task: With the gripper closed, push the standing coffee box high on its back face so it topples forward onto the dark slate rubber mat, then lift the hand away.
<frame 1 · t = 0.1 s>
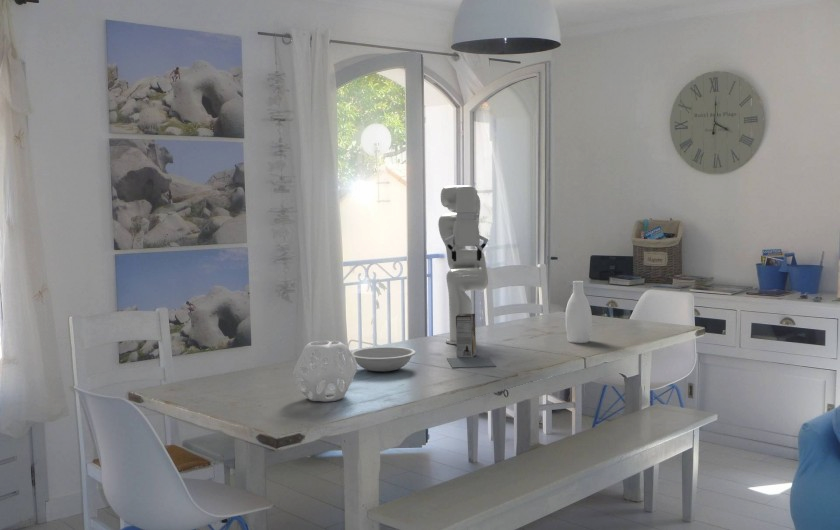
hand: (466, 260, 337), 36 cm above the table, tool pointing down, fingers open, 9 cm apart
slate mat: (470, 362, 318), on the table
decorative ball: (325, 399, 265), on the table
coffee box: (466, 356, 330), on the table, touching slate mat
soup bowl: (382, 371, 307), on the table
bottle: (578, 341, 360), on the table
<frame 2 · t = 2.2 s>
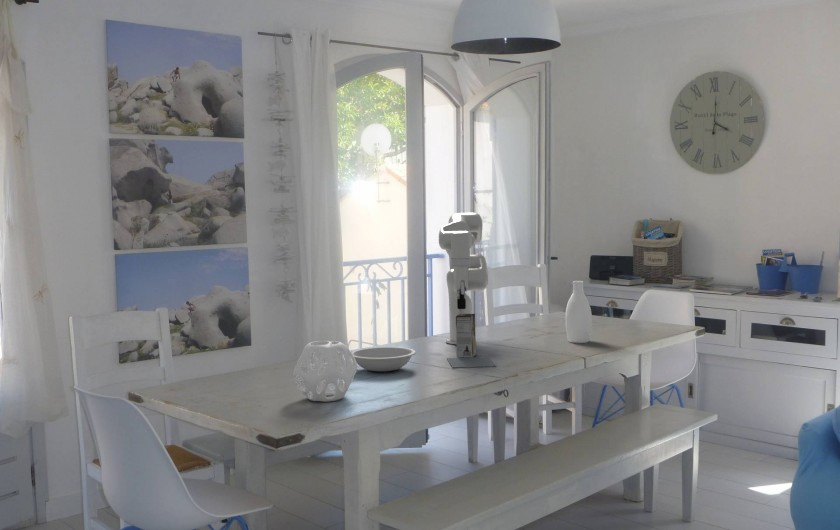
hand: (461, 308, 342), 17 cm above the table, tool pointing down, fingers closed
nothing on the table moved.
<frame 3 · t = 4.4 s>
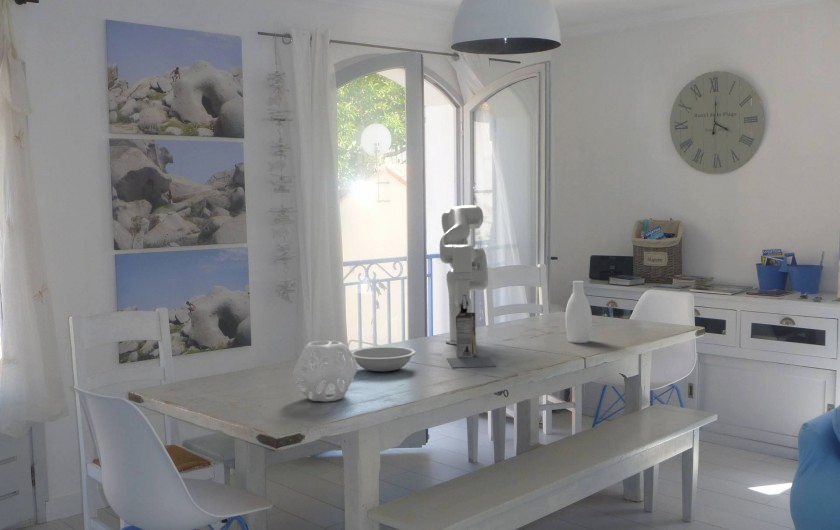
hand: (463, 323, 336), 12 cm above the table, tool pointing down, fingers closed
coffee box: (466, 355, 330), on the table, touching gripper, slate mat
everything else where it was.
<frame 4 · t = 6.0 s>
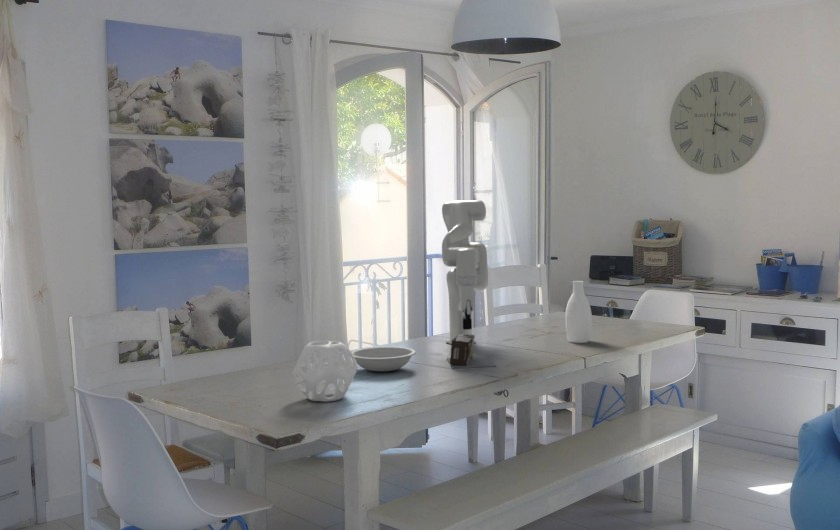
hand: (467, 329, 325), 11 cm above the table, tool pointing down, fingers closed
coffee box: (465, 345, 326), point 5 cm above the table, touching slate mat
everything else where it was.
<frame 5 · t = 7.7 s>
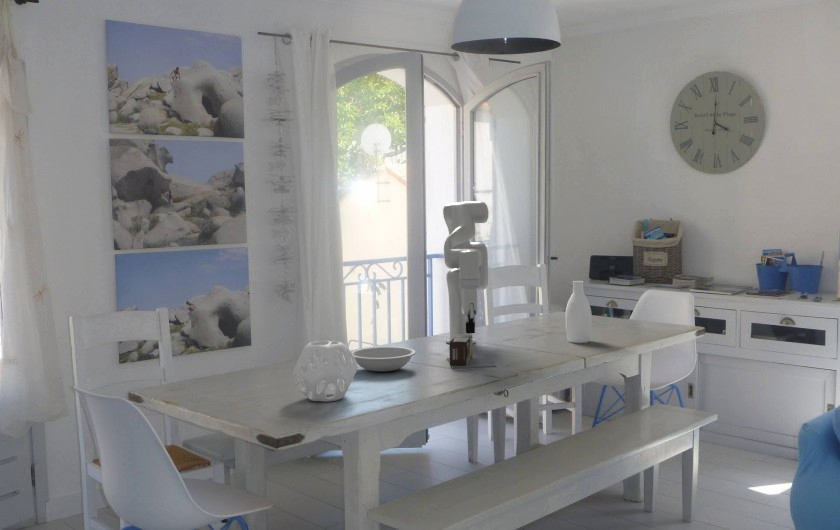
hand: (470, 332, 317), 11 cm above the table, tool pointing down, fingers closed
nothing on the table moved.
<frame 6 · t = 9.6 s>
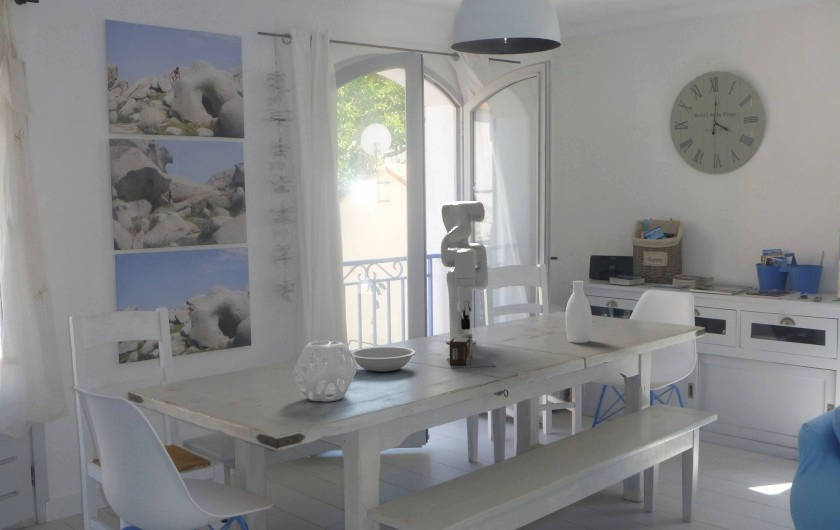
hand: (465, 329, 331), 11 cm above the table, tool pointing down, fingers closed
nothing on the table moved.
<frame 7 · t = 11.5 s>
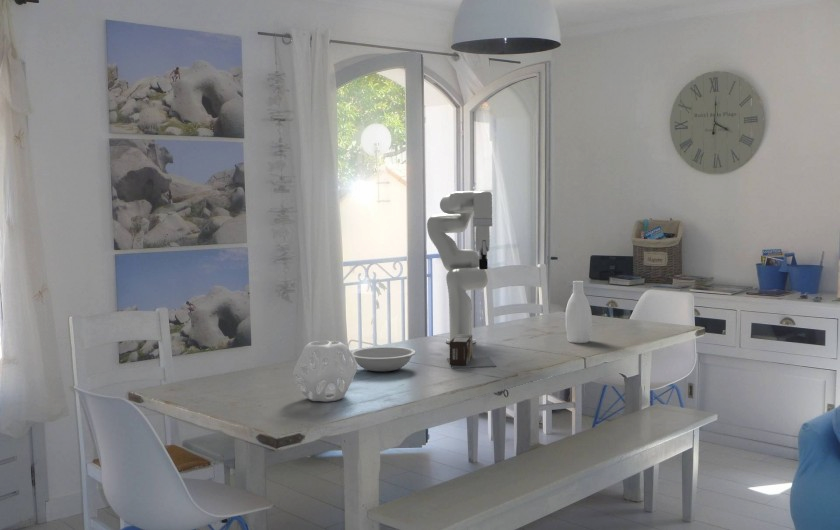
hand: (483, 269, 339), 33 cm above the table, tool pointing down, fingers closed
nothing on the table moved.
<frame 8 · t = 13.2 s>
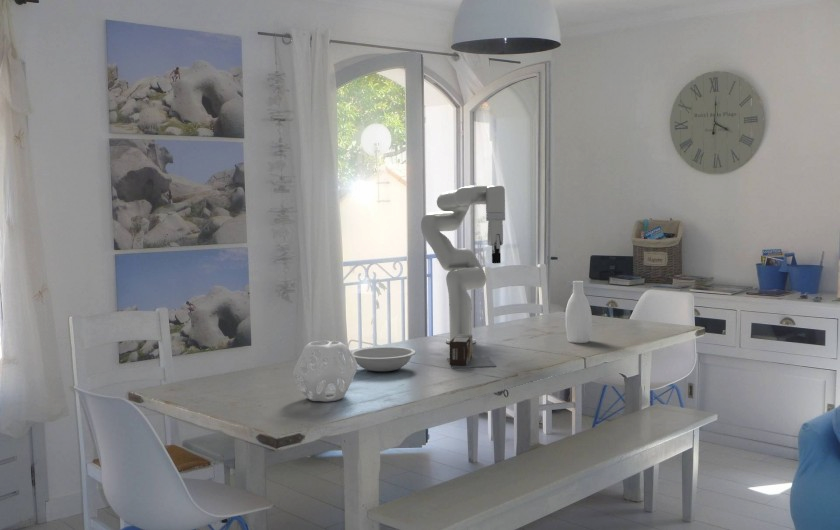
hand: (496, 263, 340), 35 cm above the table, tool pointing down, fingers closed
nothing on the table moved.
at the end: coffee box tilted 89°; coffee box touching slate mat; the gripper is holding nothing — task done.
